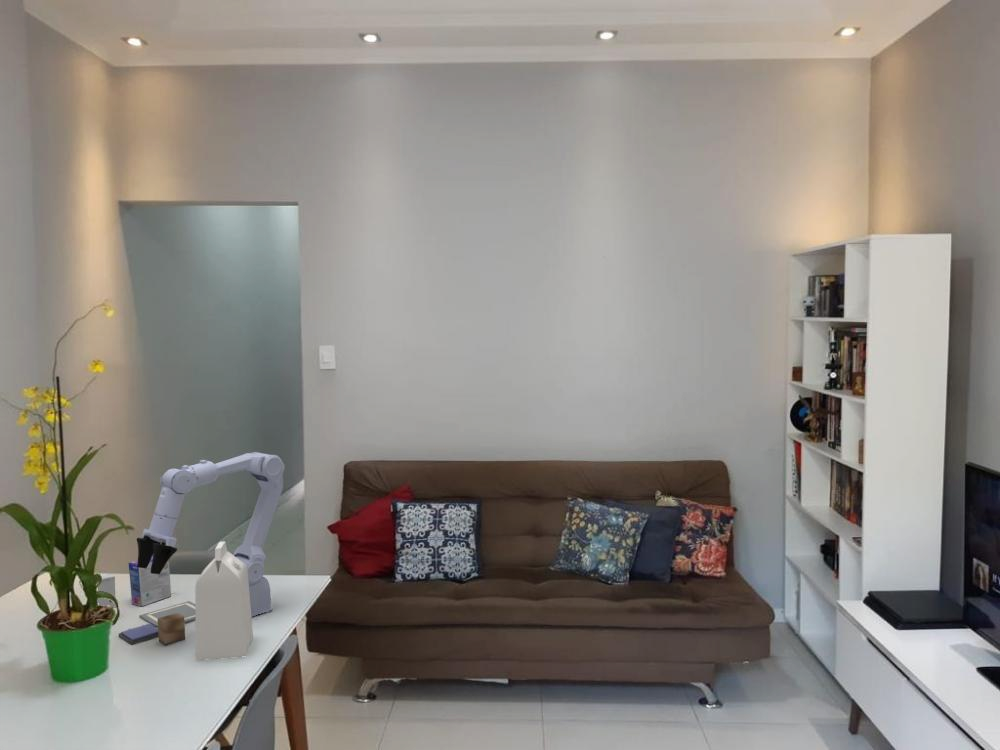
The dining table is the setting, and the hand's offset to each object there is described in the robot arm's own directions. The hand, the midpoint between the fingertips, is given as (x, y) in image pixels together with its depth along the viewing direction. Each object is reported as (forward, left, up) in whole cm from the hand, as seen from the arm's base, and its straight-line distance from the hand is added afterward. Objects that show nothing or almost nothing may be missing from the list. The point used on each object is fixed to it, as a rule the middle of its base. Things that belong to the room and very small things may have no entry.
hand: (148, 570), depth 195 cm
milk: (-11, +16, -19) cm, 27 cm away
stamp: (-5, +1, -19) cm, 20 cm away
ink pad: (-1, -8, -19) cm, 21 cm away
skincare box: (+1, -27, -19) cm, 34 cm away
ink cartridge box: (-14, -32, -19) cm, 40 cm away
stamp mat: (-13, -14, -19) cm, 27 cm away
